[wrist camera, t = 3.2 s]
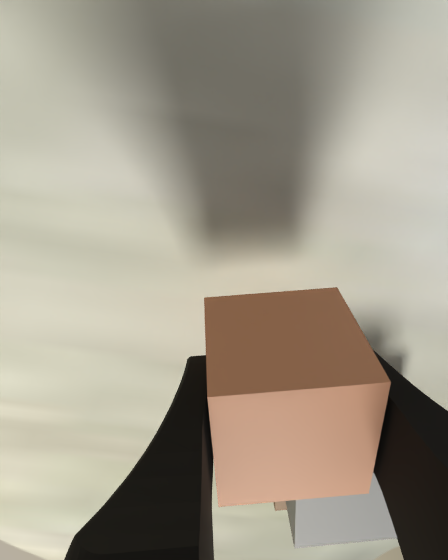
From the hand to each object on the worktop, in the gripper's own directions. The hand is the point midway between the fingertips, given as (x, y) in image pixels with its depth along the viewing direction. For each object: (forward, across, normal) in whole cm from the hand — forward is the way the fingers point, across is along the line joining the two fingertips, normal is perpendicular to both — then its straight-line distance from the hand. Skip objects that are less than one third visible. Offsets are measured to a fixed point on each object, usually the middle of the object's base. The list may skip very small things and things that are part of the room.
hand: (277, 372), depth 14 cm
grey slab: (+3, -4, +10) cm, 11 cm away
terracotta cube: (+2, 0, 0) cm, 2 cm away
